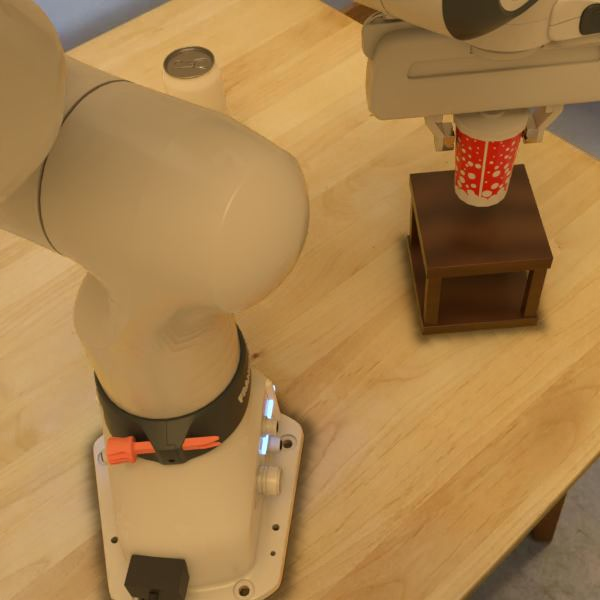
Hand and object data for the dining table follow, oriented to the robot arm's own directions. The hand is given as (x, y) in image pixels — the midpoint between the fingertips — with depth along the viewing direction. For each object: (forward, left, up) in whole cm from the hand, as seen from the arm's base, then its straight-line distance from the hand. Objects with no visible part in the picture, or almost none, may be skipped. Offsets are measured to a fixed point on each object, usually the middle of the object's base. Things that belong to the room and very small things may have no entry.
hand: (487, 142), depth 71 cm
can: (+24, +27, -19) cm, 41 cm away
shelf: (0, 0, -19) cm, 19 cm away
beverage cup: (0, 0, -6) cm, 6 cm away
